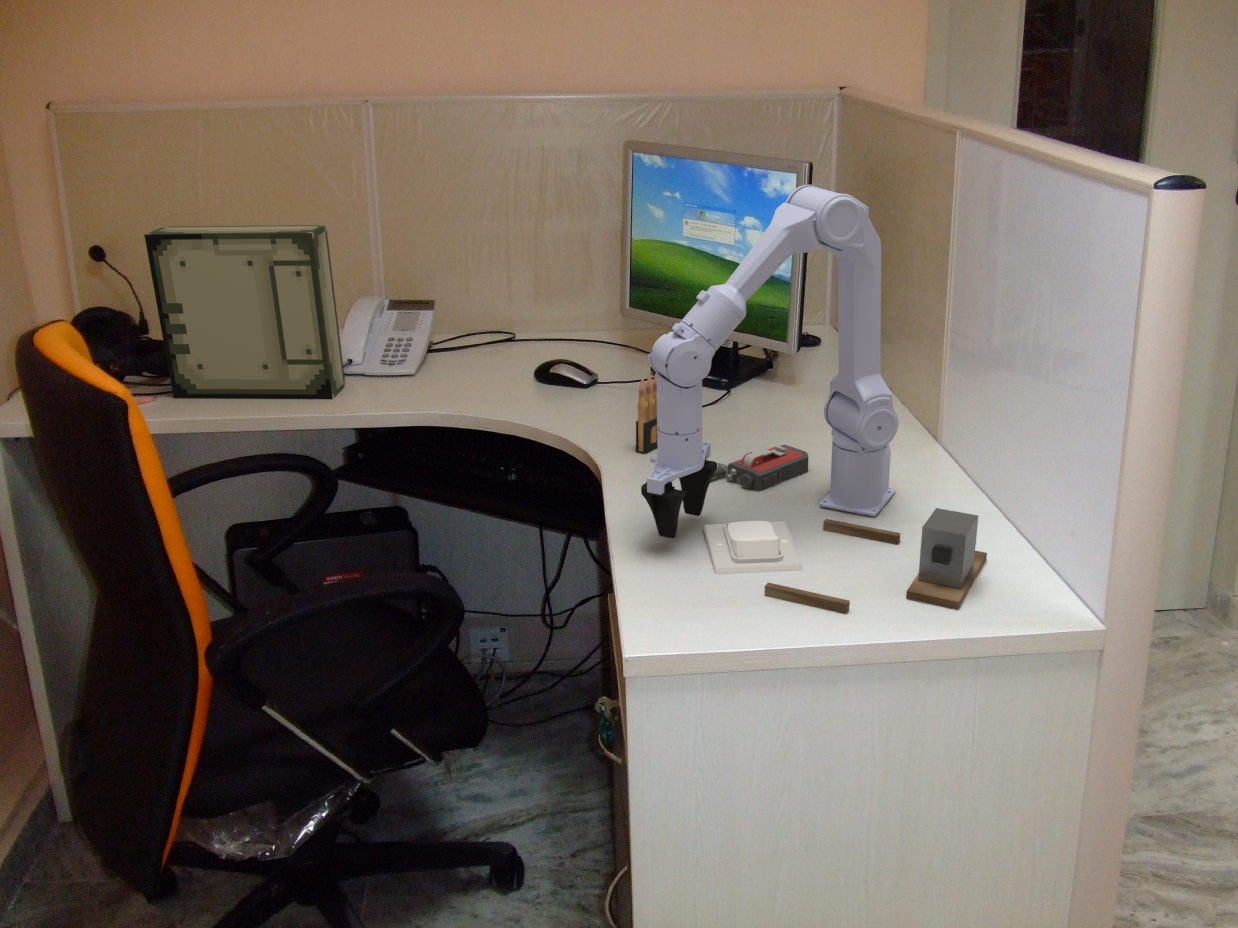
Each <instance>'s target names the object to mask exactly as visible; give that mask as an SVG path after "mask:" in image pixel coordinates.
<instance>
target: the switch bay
mask: <svg viewBox="0 0 1238 928" xmlns="http://www.w3.org/2000/svg"><path fill="white" fill-rule="evenodd" d="M822 522H823V523H822V524H823V525H822V531H826V532H831V533H837V534H842V535H845V536H853V537H856V538H861V539H862V538H863V539H867V540H872V541H877V542H883V543H888V544H893V545H899V543H900V541H901V532H896V531H892V530H886V529H881V528H876V527H871V526H866V525H861V524H856V523H851V522H845V521H839V520H835V519H834V520H833V519H828V518H825V519H824V520H823V521H822ZM764 596H767V597H772V598H775V599H780V600H784V601H789V602H793V603H799V604H803V605H808V606H811V607H816V608H819V609H825V610H829V611H834V612H836V613H843V614H848V612H849V611H850V607H851V606H850V601H851V600H850V599H849V600H848V599H844V598H839V597H835V596H832V595H825V594H821V593H818V592H813V591H808V590H804V589H799V588H795V587H791V586H786V585H782V584H776V583H772V582H767V583H766V584H765V585H764Z"/></svg>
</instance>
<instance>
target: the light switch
mask: <svg viewBox="0 0 1238 928" xmlns="http://www.w3.org/2000/svg"><path fill="white" fill-rule="evenodd" d="M702 528H703V534H704V539H705V542H706V546H707V549H708V553H709V557H710V560H711V564H712V568H713V571H714V575H733V574H737V575H738V574H756V573H757V574H758V573H759V574H760V573H776V572H777V573H779V572H780V573H781V572H795V571H796V572H798V571H799V572H800V571H803V570H804V568H803V565H802V563H801V560H800V558H799V554H798V552H797V549H796V547H795V544H794V541H793V538H792V536H791V533H790V530H789V529H788V526H787V522H786V521H767V520H743V521H734V522H726V523H714V524H713V523H712V524H711V523H710V524H704V525H703V527H702Z"/></svg>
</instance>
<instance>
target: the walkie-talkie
mask: <svg viewBox="0 0 1238 928" xmlns="http://www.w3.org/2000/svg"><path fill="white" fill-rule="evenodd" d="M806 473H809V453H808V452H807V451H805V450H803V449H799V448H796V447H793V446H790V445H787V444H782V445H777V444H776V445H774V446H773V447H771V448H768V449H767V448H763V447H761V448H759V449H756V450H753V451H751V452H747V453H746V454H744V455H737V456H735V457H731V458H728V459H726V460H721V461H719V462H717V470H716V471H715V473H714V475H713V477H712V479H713V478H716V477H717V478H718V477H720V476H722V477H724V478H725V480H726V481H727V482H733V483H735V484H737V485H739V486H742V487H743V488H745V489H751V490H753V491H756V492H762V491H764V490H767V489H769V488H771V487H772V488H773V487H774V486H777V485H779V484H781V483H784V482H787V481H789V480H791V479H794V478H797V477H799V476H802V475H804V474H806Z"/></svg>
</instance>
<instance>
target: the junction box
mask: <svg viewBox="0 0 1238 928" xmlns="http://www.w3.org/2000/svg"><path fill="white" fill-rule="evenodd" d="M978 524H979V515H978V514H973V513H967V512H966V513H965V512H960V511H955V510H950V509H944V508H940V507H939V508H938V507H935V509H934V510H933V511H932V513H931V515H930V516H929V517H928V519H927V520H926V521H925V523H924V524H923V526H922V527H921V529H922V530H921V539H920V540H921V542H920V551H919V552H920V555H919V566H918V567H919V568H918V573H919V576H918V581H921V582H926V583H931V584H935V585H940V586H945V587H950V588H955V589H959V590H961V589H962V587H963V585H964V584H965V582H966V580H967V579H968V577H969V575H970V573H971V572H972V570H973V566H974V556H975V551H976V545H977V536H978Z"/></svg>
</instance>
